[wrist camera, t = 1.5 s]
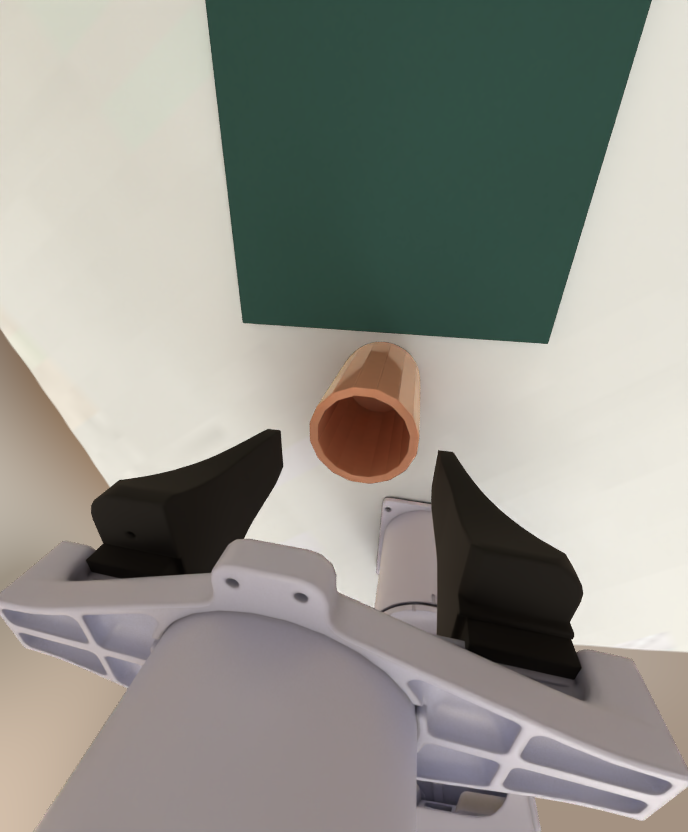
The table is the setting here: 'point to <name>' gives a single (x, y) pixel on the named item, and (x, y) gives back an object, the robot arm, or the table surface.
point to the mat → (415, 156)
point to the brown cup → (370, 415)
